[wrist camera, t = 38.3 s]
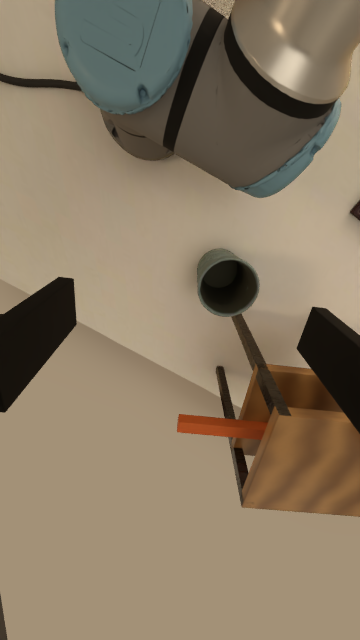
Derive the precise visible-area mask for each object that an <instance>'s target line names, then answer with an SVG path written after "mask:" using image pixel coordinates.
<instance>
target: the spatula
mask: <svg viewBox="0 0 360 640" xmlns="http://www.w3.org/2000/svg"><path fill="white" fill-rule="evenodd" d="M267 424H268V423H267V422H257V421H246V420H236V419H225V418H215V417H204V416H194V415H183V414H179V417H178V425H177V432H182V433H191V434H202V435H214V436H225V437H235V438H245V439H256V440H262V437H263V435H264V432H265V429H266V427H267Z"/></svg>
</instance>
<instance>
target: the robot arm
mask: <svg viewBox="0 0 360 640" xmlns="http://www.w3.org/2000/svg"><path fill="white" fill-rule="evenodd" d="M55 20H56V29H57V35H58V39H59V43H60V47H61V50H62V53H63V56H64V58H65V61H66V63H67V65H68V67H69V69H70V71H71V73H72V75H73V76H74V78H75V80H76V82H71V81H64V80H53V79H22V78H15V77H11V76H7V75H3V74H0V81H2V82H5V83H9V84H13V85H18V86H25V87H57V88H66V89H73V90H79V91H83V92H84V93H85V95H86V97H87V98H88V99H89V100H90V101H92V102H93V103H94V105H96V106H97V107H98V108H100V110H101V114H102V117H103V120H104V123H105V125H106V127H107V129H108V131H109V133H110V134H111V136H112V137H113V139H114V140H115V141H116V142H117V143H118V144H119V145H120V146H121V147H122V148H123V149H124V150H125V151H127V152H128V153H130V154H131V155H133V156H135V157H137V158H140V159H144V160H160V159H164V158H167V157H169V156H171V155H172V154H174V153H175V154H177V155H178V156H180V157H182V158H183V159H185V160H187V161H189V162H190V163H192V164H194V165H196V166H197V167H199V168H201V169H202V170H204V171H206V172H208V173H209V174H211V175H213V176H214V177H216V178H218V179H220V180H221V181H223V182H225V183H227V184H228V185H229V186H230V187H231V188H234V189H235V190H241V191H243V192H245V193H247V194H249V195H251V196H253V197H257V198H264V197H268V196H271V195H273V194H275V193H277V192H279V191H280V190H282V189H283V188H285V187H286V186H287V185H289V184H290V183H291V182H292V181H293V180H294V179H296V178H297V177H298V176H299V175H300V174H301V173H302V172H303V171H304V170H305V168H306V167H307V166H308V165H309V164H310V163H311V162H312V160H313V156H314V154H315V153H316V152H317V151H318V150H320V149H321V148H322V147H323V146H324V144H325V143H326V141H327V140H328V138H329V137H330V135H331V134H332V132H333V130H334V128H335V126H336V124H337V122H338V119H339V116H340V111H341V102H340V100H339V97H340V96H341V95H342V94H343V92H344V91H345V90H346V88H347V87H348V84H349V81H350V72H351V60H352V54H353V51H354V50H355V48H356V47H357V46H358V44H359V43H360V0H235V2H234V5H233V8H232V11H231V14H230V16H229V19H226V18H225V17H224V16H223V15H221V14H220V13H219V12H217V11H216V10H214V9H213V8H212V7H210V6H209V5H207V4H206V3H205V2H203V1H202V0H55ZM75 326H76V308H75V293H74V279H72V278H64V277H58V278H57V279H55V280H54V281H52V282H51V283H49V284H48V285H46V286H45V287H43V288H42V289H40V290H39V291H37V292H36V293H34V294H33V295H31V296H30V297H28V298H27V299H25V300H24V301H22V302H21V303H19V304H18V305H17V306H15V307H14V308H12V309H11V310H9V311H8V312H6V313H5V314H0V412H6V411H7V409H8V408H9V407H10V406H11V405H12V403H13V402H14V401H15V400H16V398H17V397H18V396H19V395H20V394H21V392H22V391H23V390H24V389H25V387H26V386H27V385H28V384H29V382H30V381H31V380H32V379H33V377H34V376H35V375H36V374H37V373H38V371H39V370H40V369H41V368H42V366H43V365H44V364H45V363H46V361H47V360H48V359H49V358H50V356H51V355H52V354H53V353H54V351H55V350H56V349H57V348H58V347H59V345H60V344H61V343H62V342H63V340H64V339H65V338H66V337H67V336H68V334H69V333H70V332H71V331H72V329H73V328H74V327H75ZM296 349H297V350H298V351H299V353H300V354H301V355H302V357H303V358H304V359H305V361H306V362H307V363H308V365H309V366H310V367H311V369H312V370H313V372H314V373H315V374H316V376H317V377H318V378H319V380H320V381H321V382H322V384H323V385H324V386H325V388H326V389H327V390H328V392H329V393H330V395H331V396H332V397H333V399H334V400H335V401H336V403H337V404H338V405H339V407H340V408H341V409H342V411H343V412H344V413H345V415H346V416H347V418H348V419H349V420H350V422H351V423H352V424H353V426H354V427H355V428H356V430H357V431H358V432H359V434H360V335H359V334H357V333H356V332H355V331H353V330H352V329H351V328H350V327H348V326H347V325H346V324H345V323H343V322H342V321H341V320H340V319H338V318H337V317H336V316H335V315H333V314H332V313H331V312H330V311H328V310H327V309H326V308H318V307H312V309H311V312H310V315H309V317H308V320H307V322H306V325H305V328H304V330H303V333H302V335H301V338H300V341H299V343H298V346H297V348H296ZM0 640H7V634H6V628H5V621H4V615H3V608H2V602H1V596H0Z"/></svg>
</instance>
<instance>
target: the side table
mask: <svg viewBox="0 0 360 640" xmlns="http://www.w3.org/2000/svg"><path fill="white" fill-rule="evenodd" d="M231 317H232V320H233V322H234V325H235V327H236V330H237V332H238V335H239V337H240V340H241V342H242V345H243V347H244V350H245V352H246V355H247V357H248V360H249V362H250V365H251V367H252V370H253V374H252V377H251V381H250V384H249V387H248V390H247V393H246V397H245V400H244V403H243V406H242V410H241V413H240V416H239V419H238V420H246V421H257V422H267V423H268V424H267V427H266V429H265V432H264V435H263V437H262V440H256V439H245V438H235V437H228V438H229V443H230V448H231V453H232V458H233V464H234V469H235V475H236V480H237V485H238V490H239V495H240V501H241V506H242V507H243V508H256V509H269V510H282V511H294V512H307V513H320V514H332V515H345V516H358V517H360V434H359V432H358V431H357V430H356V428H355V427H354V426H353V424H352V423H351V422H350V420H349V419H348V418H347V416H346V415H345V413H344V412H343V411H342V409H341V408H340V407H339V405H338V404H337V403H336V401H335V400H334V399H333V397H332V396H331V395H330V393H329V392H328V390H327V389H326V388H325V386H324V385H323V384H322V382H321V381H320V380H319V378H318V377H317V376H316V374H315V373H314V372H313V370H312V369H307V368H298V367H288V366H279V365H269V364H266V362H265V360H264V358H263V356H262V354H261V352H260V350H259V348H258V346H257V344H256V342H255V340H254V338H253V336H252V334H251V332H250V330H249V328H248V326H247V324H246V322H245V320H244V318H243V316H242V314H241V313H240V314H238V315H235V316H231ZM216 374H217V380H218V385H219V390H220V396H221V401H222V406H223V411H224V416H225V419H235V414H234V410H233V406H232V402H231V397H230V393H229V389H228V385H227V381H226V376H225V372H224V368H223V367H222V366H217V368H216ZM244 455H252V456H255V458H254V461H253V463H252V466H251V468H250V471H249V473H248V469H247V465H246V461H245V456H244Z"/></svg>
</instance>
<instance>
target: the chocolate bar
mask: <svg viewBox="0 0 360 640" xmlns="http://www.w3.org/2000/svg"><path fill="white" fill-rule="evenodd" d="M350 213H352V214H353V215H354V216H355V217H357V218H358V219H359V220H360V201H359V202H358V203H357V204H356V206H355V207H354V208H353V209H352V210H351V212H350Z"/></svg>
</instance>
